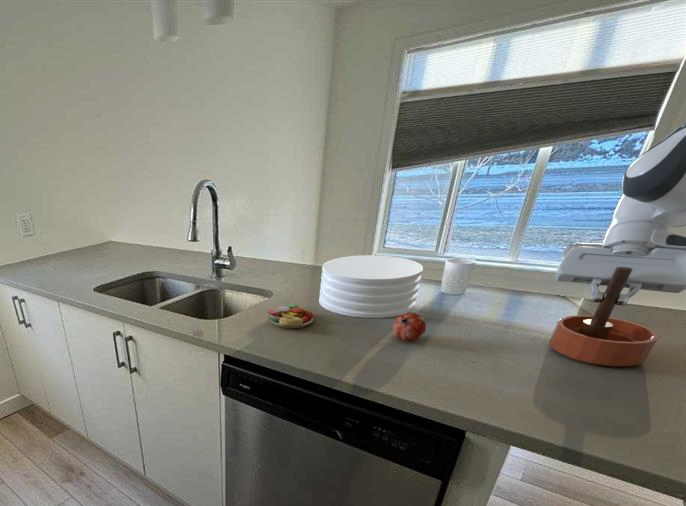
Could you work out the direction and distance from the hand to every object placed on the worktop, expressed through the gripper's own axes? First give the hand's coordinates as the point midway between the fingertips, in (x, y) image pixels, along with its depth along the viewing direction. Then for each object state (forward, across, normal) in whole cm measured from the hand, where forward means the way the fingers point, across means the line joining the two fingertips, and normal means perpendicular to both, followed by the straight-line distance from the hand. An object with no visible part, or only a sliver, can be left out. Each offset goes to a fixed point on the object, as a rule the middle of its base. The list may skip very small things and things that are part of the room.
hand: (608, 302), depth 86 cm
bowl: (+8, +1, +8) cm, 12 cm away
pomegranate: (+18, -33, -1) cm, 38 cm away
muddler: (+6, 0, +7) cm, 9 cm away
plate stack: (+2, -52, +15) cm, 55 cm away
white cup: (-14, -33, +30) cm, 47 cm away
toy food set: (+21, -64, -4) cm, 68 cm away
